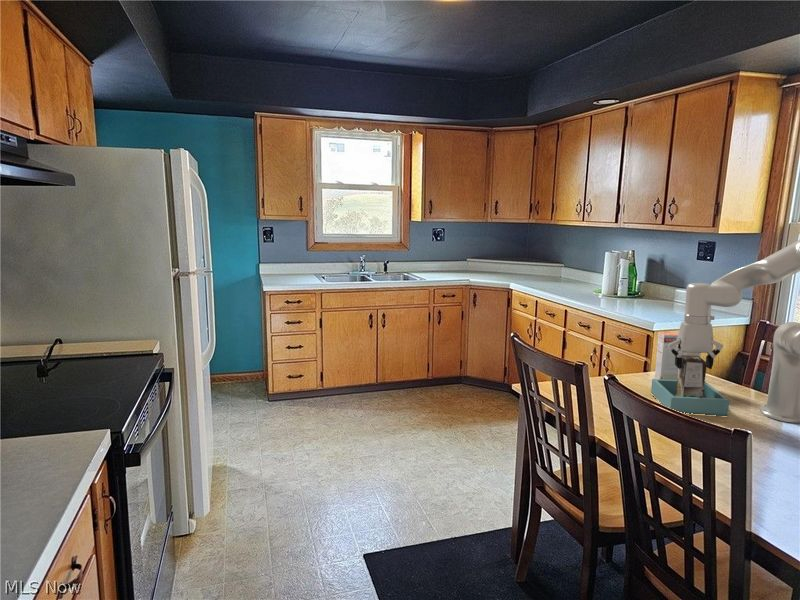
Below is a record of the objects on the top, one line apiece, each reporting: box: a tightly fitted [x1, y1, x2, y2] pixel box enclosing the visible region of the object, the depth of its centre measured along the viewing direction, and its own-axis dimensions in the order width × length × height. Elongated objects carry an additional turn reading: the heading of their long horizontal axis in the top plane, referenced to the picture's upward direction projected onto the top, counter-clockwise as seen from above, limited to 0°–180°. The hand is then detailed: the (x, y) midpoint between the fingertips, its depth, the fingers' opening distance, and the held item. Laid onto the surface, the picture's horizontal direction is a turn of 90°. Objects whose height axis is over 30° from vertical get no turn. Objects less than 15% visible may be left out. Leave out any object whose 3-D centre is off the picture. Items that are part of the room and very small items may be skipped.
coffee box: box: [676, 355, 707, 398], centre depth 172 cm, size 9×6×16 cm
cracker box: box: [654, 331, 702, 380], centre depth 191 cm, size 14×6×21 cm, turn 84°
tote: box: [650, 378, 731, 417], centre depth 173 cm, size 18×18×6 cm
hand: (693, 367), depth 170 cm, fingers open, 9 cm apart
